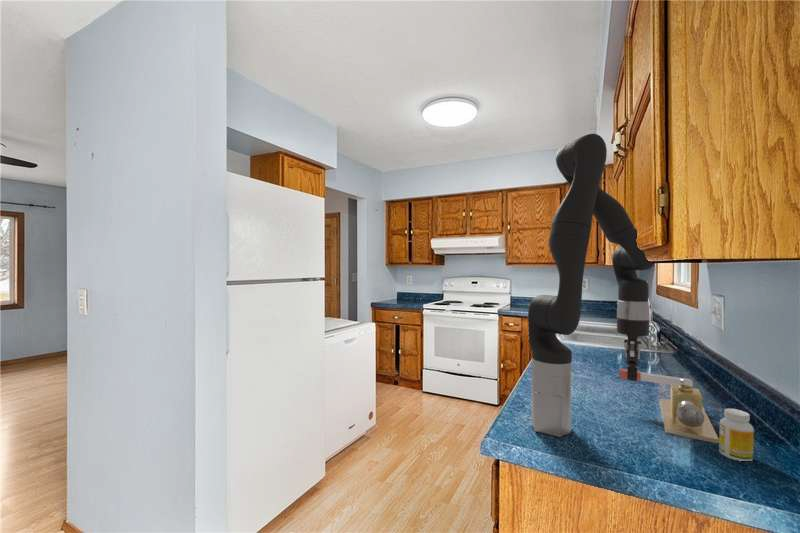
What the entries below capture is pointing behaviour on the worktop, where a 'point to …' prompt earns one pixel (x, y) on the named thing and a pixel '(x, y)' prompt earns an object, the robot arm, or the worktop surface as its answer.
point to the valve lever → (659, 379)
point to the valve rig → (687, 415)
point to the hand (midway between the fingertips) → (632, 379)
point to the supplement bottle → (736, 435)
